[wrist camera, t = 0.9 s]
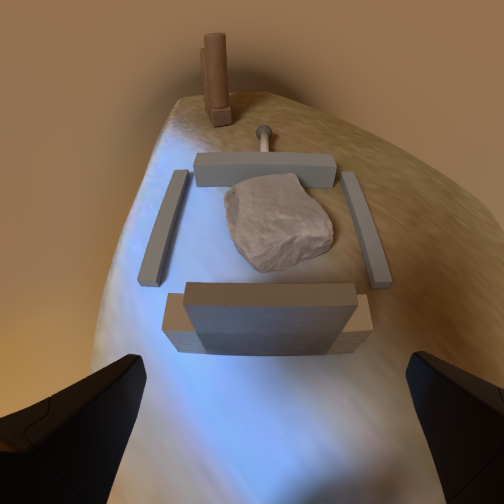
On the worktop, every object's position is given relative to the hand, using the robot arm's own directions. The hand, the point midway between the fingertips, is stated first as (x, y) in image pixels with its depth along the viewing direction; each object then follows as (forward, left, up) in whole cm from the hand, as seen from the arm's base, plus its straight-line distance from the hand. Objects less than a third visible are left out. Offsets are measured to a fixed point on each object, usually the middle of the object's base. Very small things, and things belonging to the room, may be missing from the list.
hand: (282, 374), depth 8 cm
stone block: (+20, -1, -15) cm, 25 cm away
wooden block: (+51, +9, -14) cm, 53 cm away
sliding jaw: (+7, 0, -14) cm, 16 cm away
